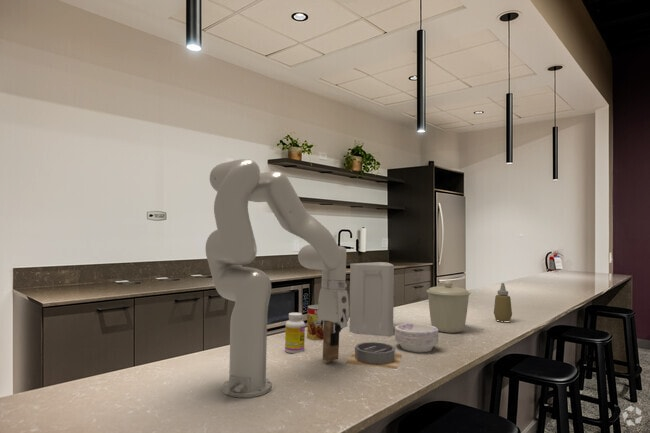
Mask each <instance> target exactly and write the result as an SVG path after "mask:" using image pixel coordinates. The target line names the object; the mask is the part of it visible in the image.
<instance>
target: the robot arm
mask: <svg viewBox="0 0 650 433" xmlns="http://www.w3.org/2000/svg"><path fill="white" fill-rule="evenodd" d="M209 183H210V186H211V187H212V189H214V191H216V192H217V193H216V195H215V198H214V204H213V213H214V214H213V215H214V219H215V226H216V228H217V229H216V230H213V232H211V233H210V234H209V236H208V237H207V239H206V243H205V255H206V260H207V264H208V267H209V270H210V274H211V277H212V281H213V284H214V288H215V290H216V291H217V293H218V294H219V296H220V297H221V298H223V299H226V300H228V301H232V302H234V306H233V309H232V312H231V316H230V323H229V324H230V326H229V332H230V334H229V367H228V369H229V372H228V373H229V374H228V375H229V376H228V380H227V381H225V382H224V384H223V385H222V389H221V390H222V393H223V394H225V395H227V396H230V397H234V398H242V399H243V398H254V397H255V398H256V397H260V396H264V395H265V394H267V393H269V392H270V391H271V390H272V388H273V385H272V384H273V383H272V381H271V380H270V379H268V378H267V346H268V345H267V342H268V339H267V338H268V310H269V305H270V304H269V303H270V298H271V295H272V282H271V279H270V277H269V276H268V274H267V273H265V272H264V271H263V270H261V269H259V268H255V267H249V266H245V265H248V264H251V263H252V262H253V261H254V260H255V259H256V256H257V253H258V252H257V251H258V250H257V243H256V242H257V241H256V239H255V235H254V231H253V227H252V224H251V219H250V214H249V208H248V206H249V202H253V203H267V205H268V206H269V208H270V210H271V211H272V213H273V214H274V216H275V218H276V219H277V221H278V223H279V224H280V226H281V227H282V229H283V230H285V231H287V232H289V233H290V234H292V235H295V236H296V237H298V238H300V239H302V240H304V241H306V242H307V243H308V244H307V245H304V246H302V247H301V248H300V250H299V251H298V254H297V259H298V263H300V265H301V266H302V267H304V268H306V269H308V270H317V271H319V270H320V271H321V288H320V290H319V294H318V301H317V305H318V318H317V320H318V321H319V322H320V323H321V325H322V327H323V331H324V321H329V322H332V333H331V342H330V345H331V346H336V345H338V344H339V345H340V333H341V332H342V330H343V329H345V328H347V327H348V326H349V325H348V322H349V321H350V300H349V295H348V290H346V288H347V287H348V284H347V283H346V279H347V278H346V275H347V274H346V273H347V249H346V247H345V246H343V245H342V246H341V245H339V244H338V243H337V241H336V240H335V237H334V236H333V234H332V233H331V232H330V231H329V230H328V228H327V227H325V225H323V224H322V223H321V222H320V221H318V220H317V219H316V218H315V217H314V216H312V215H311V214H310V213H309V212H308V211H307V210H306V208H305V206H304V204H303V202H302V201H301V199H300V197H299V195H298V194H297V191H296V190H295V188H294V187H293V185H292V183H291V181H290V180H289V178H288V177H287V175H286V174H284V172H281V171H275V170H272V171H265V172H261V169H260V167H259V164H258V163H256V161H254V160H251V159H247V158H243V159H242V158H241V159H240V158H239V159H235V160H231V161H227V162H222V163H219V164H217V165H215V166H214V167H213V168H212V169H211V171H210V173H209ZM336 325H337V326H336Z"/></svg>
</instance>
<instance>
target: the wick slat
mask: <svg viewBox="0 0 650 433" xmlns="http://www.w3.org/2000/svg"><path fill="white" fill-rule="evenodd" d="M336 326H337V325H336ZM331 333H332V322H329V321H324V335H323V340H322V342H323V343H322V361H325V362H328V363H330V362H333V361H337V360H339V355H340V353H339V352H340V351H339V350H340V349H339V348H340V343H339V344H338V345H336V346H331V345H330V342H331Z"/></svg>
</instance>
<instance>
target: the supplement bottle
mask: <svg viewBox="0 0 650 433" xmlns="http://www.w3.org/2000/svg"><path fill="white" fill-rule="evenodd" d="M302 318H303V314H302V312H289V313H288V320H287V321H286V322H285V331H284V332H285V336H284V337H285V338H284V340H285V342H284V348H285V349H284V350H285V352H287V353H288V354H297V353H298V354H299V353H302V352H304V351H305V342H306V341H305V335H306V334H305V333H306V332H305V331H306V330H305V328H306V324H305V321H303V320H302Z"/></svg>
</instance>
